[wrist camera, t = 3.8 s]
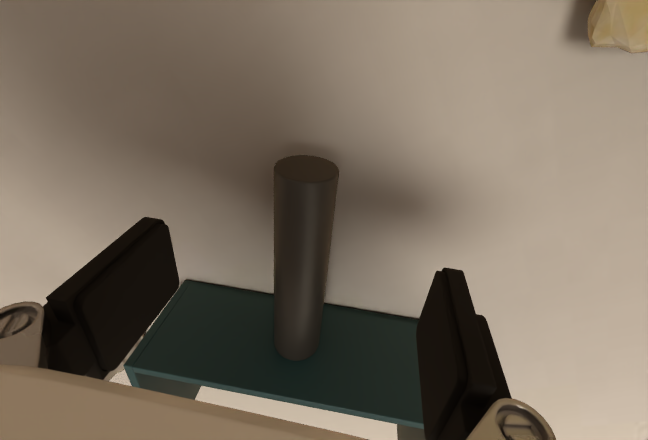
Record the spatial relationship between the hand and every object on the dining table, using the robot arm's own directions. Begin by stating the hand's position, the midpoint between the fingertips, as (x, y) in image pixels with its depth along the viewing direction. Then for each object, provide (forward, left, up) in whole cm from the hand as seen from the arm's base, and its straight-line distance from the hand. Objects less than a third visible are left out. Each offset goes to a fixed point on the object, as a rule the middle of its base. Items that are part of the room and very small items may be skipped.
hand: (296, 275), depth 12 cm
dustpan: (0, -8, -7) cm, 11 cm away
